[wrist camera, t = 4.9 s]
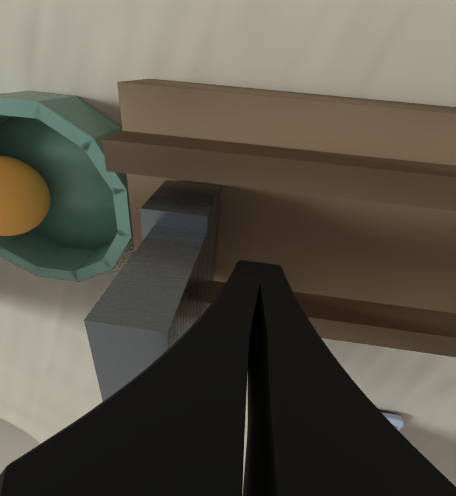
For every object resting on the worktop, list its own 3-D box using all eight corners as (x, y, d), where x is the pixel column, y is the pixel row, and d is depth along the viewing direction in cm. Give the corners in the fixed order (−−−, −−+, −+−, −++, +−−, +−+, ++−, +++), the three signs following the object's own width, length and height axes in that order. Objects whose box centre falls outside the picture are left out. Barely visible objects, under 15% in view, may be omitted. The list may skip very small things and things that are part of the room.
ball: (-45, 232, 14) (34, 209, 17) (-9, 260, 12) (72, 230, 15) (-79, 155, 12) (15, 142, 15) (-42, 176, 11) (56, 158, 13)
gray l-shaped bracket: (214, 275, 13) (171, 434, 7) (168, 269, 13) (92, 421, 8) (220, 186, 11) (166, 312, 5) (166, 180, 11) (58, 296, 5)
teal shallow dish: (153, 262, 17) (136, 290, 15) (16, 244, 18) (-19, 268, 16) (143, 102, 13) (118, 109, 11) (-37, 84, 14) (-95, 88, 11)
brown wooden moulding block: (484, 320, 16) (549, 397, 13) (159, 275, 18) (128, 333, 14) (622, 122, 11) (802, 151, 7) (148, 78, 12) (94, 84, 9)
